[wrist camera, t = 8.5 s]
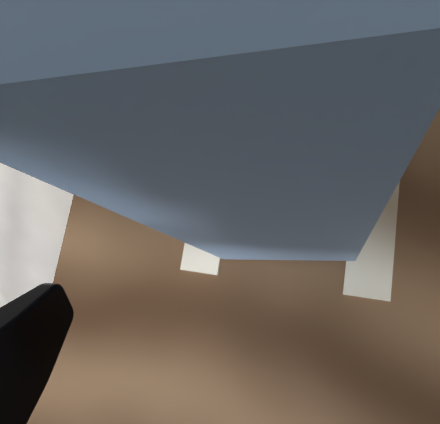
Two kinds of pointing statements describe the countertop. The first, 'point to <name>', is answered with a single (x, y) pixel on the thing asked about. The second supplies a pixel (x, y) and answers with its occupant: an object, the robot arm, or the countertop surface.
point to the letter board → (252, 324)
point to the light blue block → (223, 113)
